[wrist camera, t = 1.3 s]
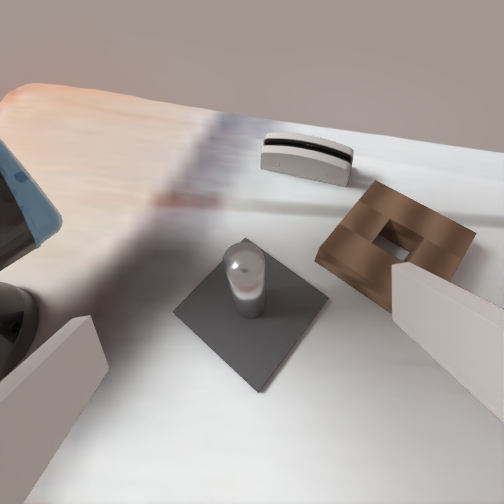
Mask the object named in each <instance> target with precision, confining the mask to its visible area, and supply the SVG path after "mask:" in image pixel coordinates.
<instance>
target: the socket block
mask: <svg viewBox="0 0 504 504" xmlns="http://www.w3.org/2000/svg"><path fill="white" fill-rule="evenodd" d="M378 234H380V235H381V236H383V237H385V238H387V239H388V240H390V241H392V242H393V243H395V244H397V245H398V246H400V247H402V248H403V249H405V250H407V251H408V252H410V253H409V254H408V256H407V257H406V259H405V260H404V262H402V261H401V260H399V259H397V258H396V257H394V256H393V255H391V254H389V253H388V252H386V251H384V250H383V249H381V248H379V247H378V246H376V245H374V244H373V243H372V242H373V241H374V239H375V238H376V237H377V235H378ZM475 235H476V233H475V232H473V231H471V230H469V229H468V228H466V227H464V226H462V225H460V224H458V223H456V222H454V221H452V220H450V219H449V218H447V217H445V216H443V215H441V214H439V213H437V212H435V211H433V210H431V209H429V208H428V207H426V206H424V205H422V204H420V203H418V202H416V201H414V200H412V199H410V198H408V197H407V196H405V195H403V194H401V193H399V192H397V191H395V190H393V189H391V188H389V187H387V186H386V185H384V184H382V183H380V182H378V181H376V180H375V181H374V182H373V184H372V185H371V186H370V187H369V188H368V190H367V191H366V192H365V193H364V195H363V196H362V197H361V198H360V199H359V201H358V202H357V203H356V204H355V205H354V207H353V208H352V209H351V210H350V211H349V213H348V214H347V215H346V216H345V218H344V219H343V220H342V221H341V222H340V224H339V225H338V226H337V227H336V228H335V230H334V231H333V232H332V233H331V234H330V236H329V237H328V238H327V239H326V241H325V242H324V243H323V244H322V245H321V247H320V248H319V251H318V253H317V256H316V259H315V262H317V263H318V264H320V265H321V266H323V267H324V268H326V269H327V270H328V271H330V272H331V273H333V274H334V275H336V276H337V277H339V278H340V279H342V280H343V281H345V282H346V283H347V284H349V285H350V286H352V287H353V288H355V289H356V290H358V291H359V292H361V293H362V294H364V295H365V296H366V297H368V298H369V299H371V300H372V301H374V302H375V303H377V304H378V305H380V306H381V307H383V308H384V309H385V310H387V311H388V312H390V313H391V314H392V265H393V264H399V263H405V262H410V263H412V264H414V265H416V266H418V267H420V268H422V269H424V270H426V271H428V272H430V273H432V274H434V275H436V276H438V277H440V278H442V279H444V280H446V281H448V282H449V281H450V279H451V277H452V276H453V274H454V272H455V270H456V269H457V267H458V265H459V263H460V262H461V260H462V258H463V256H464V255H465V253H466V251H467V249H468V247H469V246H470V244H471V242H472V240H473V239H474V237H475Z"/></svg>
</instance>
